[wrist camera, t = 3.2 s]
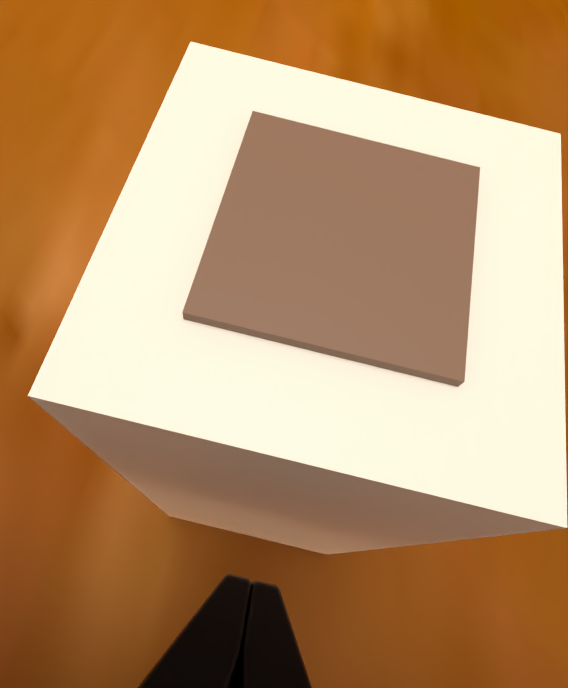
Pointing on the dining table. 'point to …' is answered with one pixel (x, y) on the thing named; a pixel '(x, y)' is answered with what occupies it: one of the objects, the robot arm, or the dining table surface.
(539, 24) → the dining table surface
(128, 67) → the dining table surface
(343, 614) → the dining table surface
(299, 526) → the white rectangular block
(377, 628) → the dining table surface
